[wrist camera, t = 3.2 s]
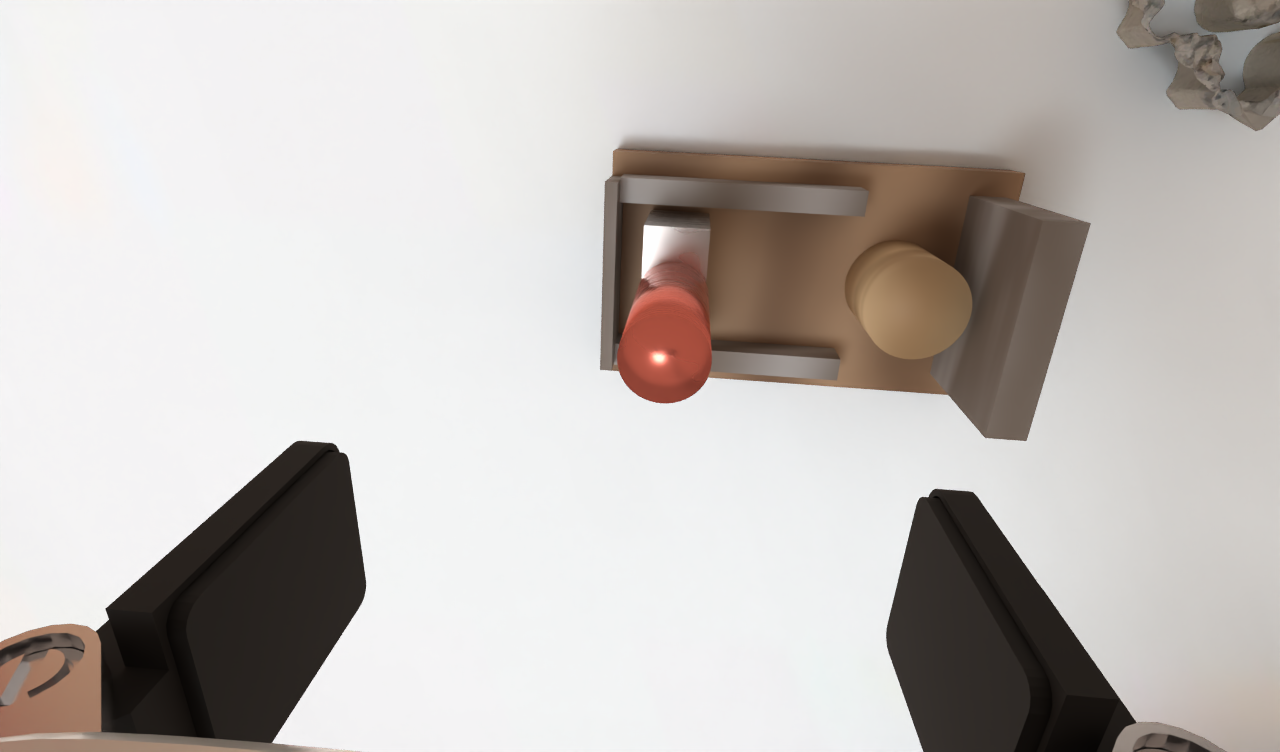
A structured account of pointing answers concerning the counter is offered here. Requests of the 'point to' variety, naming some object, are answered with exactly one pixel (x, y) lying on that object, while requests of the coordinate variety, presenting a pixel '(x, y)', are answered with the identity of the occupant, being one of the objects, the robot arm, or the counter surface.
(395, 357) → the counter surface
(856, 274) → the tan wooden knob
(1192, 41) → the egg carton
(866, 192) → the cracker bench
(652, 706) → the counter surface
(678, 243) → the handle
